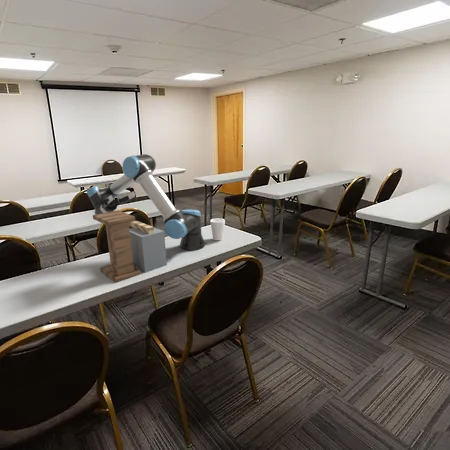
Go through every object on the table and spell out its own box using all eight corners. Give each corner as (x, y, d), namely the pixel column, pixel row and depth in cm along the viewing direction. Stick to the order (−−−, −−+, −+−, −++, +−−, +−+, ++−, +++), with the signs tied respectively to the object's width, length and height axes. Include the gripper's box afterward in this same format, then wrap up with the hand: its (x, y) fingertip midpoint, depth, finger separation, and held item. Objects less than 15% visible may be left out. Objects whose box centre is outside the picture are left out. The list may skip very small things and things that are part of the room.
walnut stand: (140, 274, 159) (134, 216, 151) (116, 282, 151) (108, 222, 142) (124, 263, 172) (117, 210, 163) (100, 271, 163) (92, 215, 154)
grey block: (166, 265, 169) (164, 231, 164) (145, 272, 161) (141, 237, 155) (149, 256, 182) (146, 224, 176) (128, 262, 173) (124, 229, 168)
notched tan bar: (154, 232, 162) (153, 227, 161) (149, 234, 160) (148, 228, 159) (131, 223, 178) (130, 218, 177) (126, 224, 176) (125, 219, 176)
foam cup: (216, 242, 201) (216, 223, 198) (208, 239, 208) (207, 220, 204) (228, 239, 207) (227, 220, 204) (219, 236, 214) (218, 217, 210)
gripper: (129, 208, 201) (144, 197, 185) (90, 216, 183) (104, 206, 168) (125, 197, 201) (140, 185, 185) (86, 204, 184) (99, 192, 168)
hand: (123, 195), depth 177 cm, fingers open, 13 cm apart
